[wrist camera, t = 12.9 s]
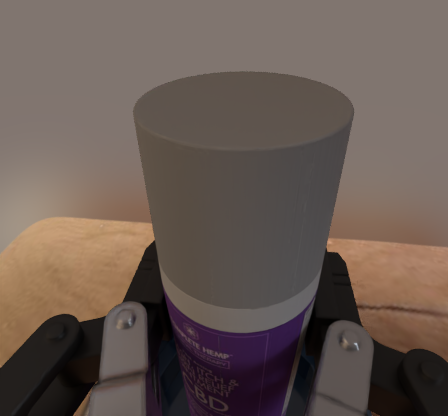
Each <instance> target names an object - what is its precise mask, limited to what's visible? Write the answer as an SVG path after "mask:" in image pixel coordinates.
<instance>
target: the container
mask: <svg viewBox="0 0 448 416" xmlns="http://www.w3.org/2000/svg"><path fill="white" fill-rule="evenodd" d="M133 115H134V122H135V127H136V133H137V139H138V145H139V151H140V156H141V162H142V168H143V173H144V179H145V185H146V190H147V197H148V202H149V208H150V214H151V220H152V225H153V231H154V237H155V243H156V249H157V254H158V260H159V266H160V272H161V279H162V285H163V289H164V294H165V299H166V303H167V308H168V312H169V317H170V322H171V326H172V331H173V336H174V340H175V345H176V349H177V354H178V359H179V363H180V368H181V372H182V377H183V382H184V386H185V391H186V396H187V400H188V405H189V409H190V414H191V416H285V415H286V411H287V407H288V403H289V399H290V395H291V391H292V387H293V383H294V379H295V375H296V371H297V367H298V363H299V360H300V356H301V352H302V348H303V344H304V340H305V336H306V332H307V328H308V324H309V320H310V316H311V312H312V308H313V304H314V300H315V297H316V293H317V289H318V285H319V279H320V274H321V269H322V264H323V260H324V255H325V250H326V245H327V240H328V236H329V231H330V226H331V221H332V216H333V212H334V207H335V202H336V197H337V193H338V188H339V183H340V178H341V173H342V169H343V164H344V159H345V154H346V149H347V144H348V140H349V135H350V130H351V125H352V121H353V116H354V108H353V105H352V103H351V101H350V100H349V99H348V98H347V97H346V96H345V95H344V94H343V93H341V92H340V91H338V90H337V89H335V88H333V87H330V86H328V85H326V84H323V83H321V82H317V81H314V80H310V79H307V78H302V77H298V76H292V75H285V74H278V73H268V72H221V73H211V74H203V75H197V76H191V77H186V78H182V79H178V80H175V81H172V82H168V83H165V84H163V85H160V86H158V87H156V88H154V89H152V90H150V91H149V92H147V93H145V94H144V95H143V96H142V97H141V98H140V99H138V101H137V103H136V104H135V106H134V110H133Z"/></svg>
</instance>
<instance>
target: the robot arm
mask: <svg viewBox="0 0 448 416" xmlns="http://www.w3.org/2000/svg"><path fill="white" fill-rule="evenodd" d="M172 332H173V331H172V326H171V322H170V317H169V312H168V308H167V303H166V299H165V294H164V289H163V285H162V279H161V272H160V266H159V260H158V254H157V249H156V243H155V240H154V241H153V242H152V243H151V244H150V245H149V246H148V247H147V248H146V250H145V252H144V254H143V257H142V260H141V261H140V264H139V266H138V269H137V270H136V273H135V275H134V277H133V280H132V282H131V284H130V287H129V289H128V291H127V293H126V296H125V298H124V300H123V302H122V303H121V304H119V305H117V306H115V307H114V308H113V309H112V310H111V311H110V312H109V313H108V314H107V316H104V317H101V318H97V319H92V320H87V321H83V322H79V321H78V320H77V318H76V317H75V316H73V315H70V314H60V315H57V316H54V317H52V318H50V319H48V320H47V321H45V322H44V323H43V324H42V325H41V326H40V327H39V328H38V329H37V330H36V331H35V332H34V333H33V334H32V335H31V336H30V337H29V338H28V339H27V341H26V342H25V343H24V344H23V345H22V346H21V347H20V348H19V349H18V350H17V351H16V352H15V353H14V354H13V355H12V357H11V358H10V359H9V360H8V361H7V362H6V363H5V364H4V365H3V366H2V367H1V368H0V416H73V415H74V413H75V412H76V410H77V409H78V407H79V406H80V404H81V403H82V401H83V400H84V398H85V397H86V395H87V394H88V392H89V391H90V390H91V388H92V387H93V388H92V391H91V396H90V405H89V414H88V416H163V414H162V405H161V387H160V368H159V354H158V352H159V348H160V345H161V341H162V340H163V341H170V340H171V336H172ZM305 352H306V356H314V361H315V370H314V373H313V377H312V381H311V385H310V389H309V393H308V397H307V402H306V406H305V410H304V414H303V416H368V415H367V409H368V410H370V411H372V412H374V413H376V414H378V415H380V416H448V363H447V362H446V361H445V360H444V359H443V358H442V357H440V356H439V355H437V354H435V353H433V352H431V351H428V350H425V349H413V350H410V351H409V352H407V353H406V354H404V353H402V352H399V351H397V350H394V349H392V348H389V347H386V346H384V345H382V344H380V343H378V342H377V341H375V340H374V339H373V338H371V337H370V335H369V334H368V332H367V331H366V330H365V329H364V328H363V326H362V324H361V321H360V318H359V314H358V310H357V306H356V302H355V298H354V294H353V290H352V286H351V282H350V278H349V274H348V270H347V266H346V263H345V261H344V260H343V259H342V258H341V256H340V255H339V254H338V253H335V252H327V248H326V250H325V255H324V260H323V264H322V269H321V274H320V279H319V285H318V289H317V293H316V297H315V300H314V304H313V308H312V312H311V316H310V320H309V324H308V328H307V332H306V336H305ZM96 381H98V383H97V384H95V382H96ZM94 384H95V385H94ZM93 385H94V386H93Z"/></svg>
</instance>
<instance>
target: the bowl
mask: <svg viewBox="0 0 448 416" xmlns="http://www.w3.org/2000/svg"><path fill="white" fill-rule="evenodd" d="M158 354H159V368H160V387H161V405H162V414H163V416H191V414H190V409H189V405H188V400H187V396H186V391H185V386H184V382H183V377H182V372H181V368H180V363H179V359H178V354H177V349H176V345H175V340H174V336H173V332H172V336H171V340H170V341H163V340H162V341H161V345H160V348H159V352H158ZM314 370H315V361H314V356H306V352H305V340H304V344H303V348H302V352H301V356H300V360H299V363H298V367H297V371H296V375H295V379H294V383H293V387H292V391H291V395H290V399H289V403H288V407H287V411H286V415H285V416H303V414H304V410H305V406H306V402H307V397H308V393H309V389H310V385H311V381H312V377H313V373H314ZM367 415H368V416H372V414H371V411H370V410H368V409H367Z"/></svg>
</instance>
